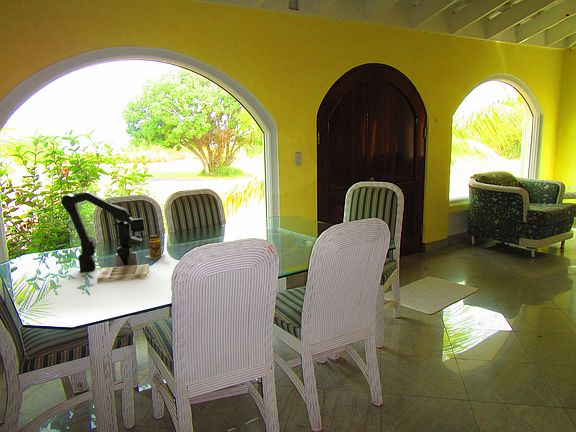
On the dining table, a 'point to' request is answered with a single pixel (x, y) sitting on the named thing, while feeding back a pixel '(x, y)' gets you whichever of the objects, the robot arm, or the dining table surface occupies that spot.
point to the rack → (123, 272)
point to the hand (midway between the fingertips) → (126, 262)
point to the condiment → (154, 247)
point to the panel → (131, 260)
